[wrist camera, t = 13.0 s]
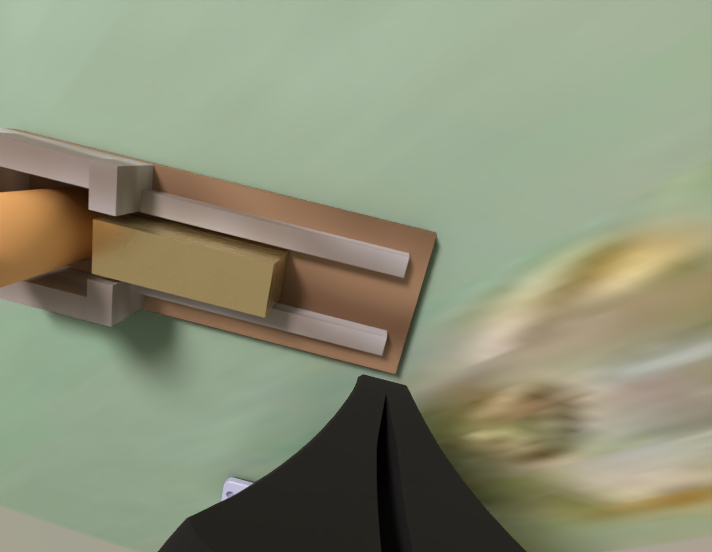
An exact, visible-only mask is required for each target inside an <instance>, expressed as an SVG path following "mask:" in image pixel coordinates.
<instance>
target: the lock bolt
mask: <svg viewBox="0 0 712 552" xmlns="http://www.w3.org/2000/svg"><path fill="white" fill-rule="evenodd" d="M288 256H289V251H287V250H283V249H279V248H275V247H271V246H267V245H263V244H259V243H255V242H251V241H247V240H243V239H239V238H235V237H231V236H227V235H223V234H219V233H215V232H211V231H207V230H203V229H199V228H195V227H191V226H187V225H183V224H179V223H175V222H171V221H167V220H163V219H159V218H155V217H151V216H147V215H143V214H139V213H135V212H133V213H129V214H124V215H119V216H113V215H110V216H106V217H101V218H96V219H93V240H92V274H96V275H100V276H104V277H107V278H111V279H115V280H119V281H123V282H127V283H131V284H135V285H139V286H143V287H147V288H150V289H154V290H158V291H162V292H166V293H170V294H174V295H178V296H182V297H186V298H189V299H193V300H197V301H201V302H205V303H209V304H213V305H217V306H221V307H225V308H229V309H232V310H236V311H240V312H244V313H248V314H252V315H256V316H260V317H264V318H265V317H266V316H267V314H268V313H269V312H270V311H271V310H272V308H273V307H274V306H275V305H276V303H277V302H278V301H279V300H280V299H281V294H282V289H283V283H284V278H285V272H286V267H287V261H288Z"/></svg>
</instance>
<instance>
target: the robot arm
mask: <svg viewBox="0 0 712 552" xmlns="http://www.w3.org/2000/svg"><path fill="white" fill-rule="evenodd" d="M231 492H233V493H231ZM158 552H526V551H525V550H524V549H523V548H522V547H521V546H520V545H519V544H518V543H517V542H516V541H515V540H514V539H513V538H512V537H511V536H510V535H509V534H508V532H507V531H506V530H505V529H504V528H503V527H502V526H501V525H500V524H499V523H498V522H497V521H496V519H495V518H494V517H493V516H492V515H491V514H490V513H489V512H488V511H487V510H486V508H485V507H484V506H483V505H482V504H481V503H480V501H479V500H478V499H477V498H476V496H475V495H474V494H473V493H472V491H471V490H470V489H469V488H468V486H467V485H466V484H465V483H464V481H463V480H462V479H461V477H460V476H459V475H458V473H457V472H456V471H455V469H454V468H453V466H452V465H451V464H450V462H449V461H448V459H447V458H446V456H445V455H444V453H443V452H442V450H441V448H440V447H439V445H438V444H437V442H436V440H435V439H434V437H433V435H432V433H431V432H430V430H429V428H428V426H427V425H426V423H425V421H424V419H423V417H422V415H421V413H420V411H419V409H418V408H417V406H416V404H415V402H414V400H413V398H412V395H411V393H410V391H409V390H408V388H407V386H406V385H402V384H398V383H394V382H391V381H387V380H383V379H379V378H375V377H371V376H367V375H361V376H359V377H358V380H357V383H356V385H355V387H354V389H353V391H352V392H351V394H350V396H349V397H348V399H347V400H346V401H345V403H344V404H343V405H342V407H341V408H340V409H339V411H338V412H337V413H336V414H335V416H334V417H333V418H332V419H331V420H330V421H329V422H328V423H327V424H326V426H325V427H324V428H323V429H322V430H321V431H320V432H319V433H318V434H317V435H316V436H315V437H314V438H313V439H312V440H311V441H310V442H309V443H307V444H306V445H305V446H304V447H303V448H302V449H301V450H299V451H298V452H297V453H296V454H295V455H293V456H292V457H291V458H289V459H288V460H287V461H286V462H284V463H283V464H282V465H280V466H279V467H278V468H276V469H275V470H273V471H272V472H270V473H269V474H268V475H266V476H264V477H263V478H261V479H259V480H258V481H256V482H255V483H252V482H248V481H245V480H241V479H237V478H228V479H227V480H226V482H225V484H224V487H223V494H222V500H221V502H219V503H217V504H215V505H213V506H211V507H209V508H207V509H205V510H203V511H201V512H199V513H197V514H195V515H193V516H190V517H188V518H187V519H186V520H185V521H184V522H183V523H182V524H181V525H180V526H179V527H178V528H177V530H176V531H175V532H174V533H173V534H172V535H171V536H170V538H169V539H168V540H167V541H166V542H165V544H164V545H163V546H162V547H161V548H160V550H159V551H158Z"/></svg>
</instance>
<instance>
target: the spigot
mask: <svg viewBox="0 0 712 552" xmlns="http://www.w3.org/2000/svg"><path fill="white" fill-rule="evenodd" d="M106 216H109V214H105V213H101V212H97V211H93V210H89V192H88V191H86V190H84V189H81V188H77V187H58V188H47V189H35V190H23V191H11V192H0V288H2V287H5V286H8V285H11V284H14V283H17V282H20V281H23V280H26V279H29V278H32V277H35V276H38V275H41V274H44V273H48V272H51V271H54V270H57V269H60V268H63V267H66V266H69V265H72V264H75V263H78V262H81V261H84V260H87V259H90V258H92V240H93V219H96V218H101V217H106Z"/></svg>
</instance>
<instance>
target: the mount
mask: <svg viewBox="0 0 712 552" xmlns="http://www.w3.org/2000/svg"><path fill="white" fill-rule="evenodd" d="M58 187H77V188H81V189H84V190H86V191H88V192H89V210H93V211H97V212H101V213H105V214H109V216H110V215H113V216H119V215H124V214H129V213H133V212H135V213H139V214H143V215H147V216H151V217H155V218H159V219H163V220H167V221H171V222H175V223H179V224H183V225H187V226H191V227H195V228H199V229H203V230H207V231H211V232H215V233H219V234H223V235H227V236H231V237H235V238H239V239H243V240H247V241H251V242H255V243H259V244H263V245H267V246H271V247H275V248H279V249H283V250H287V251H289V256H288V261H287V267H286V272H285V278H284V283H283V289H282V294H281V299H280V300H279V301H278V302H277V303H276V305H275V306H274V307H273V308H272V310H271V311H270V312H269V313H268V314H267V316H266V317H265V318H264V317H260V316H256V315H252V314H248V313H244V312H240V311H236V310H232V309H229V308H225V307H221V306H217V305H213V304H209V303H205V302H201V301H197V300H193V299H189V298H186V297H182V296H178V295H174V294H170V293H166V292H162V291H158V290H154V289H150V288H147V287H143V286H139V285H135V284H131V283H127V282H123V281H119V280H115V279H111V278H107V277H104V276H100V275H96V274H92V258H90V259H87V260H84V261H81V262H78V263H75V264H72V265H69V266H66V267H63V268H60V269H57V270H54V271H51V272H48V273H44V274H41V275H38V276H35V277H32V278H29V279H26V280H23V281H20V282H17V283H14V284H11V285H8V286H5V287H2V288H0V298H1V299H5V300H8V301H12V302H16V303H20V304H24V305H28V306H31V307H35V308H39V309H43V310H47V311H51V312H55V313H58V314H62V315H66V316H70V317H74V318H78V319H82V320H85V321H89V322H93V323H97V324H101V325H105V326H109V327H112V326H114V325H115V324H117V323H119V322H121V321H122V320H124V319H126V318H127V317H129V316H131V315H132V314H134V313H136V312H137V311H139V310H141V309H145V310H148V311H152V312H156V313H160V314H164V315H168V316H172V317H176V318H179V319H183V320H187V321H191V322H195V323H199V324H203V325H207V326H211V327H214V328H218V329H222V330H226V331H230V332H234V333H238V334H242V335H245V336H249V337H253V338H257V339H261V340H265V341H269V342H273V343H277V344H280V345H284V346H288V347H292V348H296V349H300V350H304V351H308V352H311V353H315V354H319V355H323V356H327V357H331V358H335V359H339V360H343V361H346V362H350V363H354V364H358V365H362V366H366V367H370V368H374V369H377V370H381V371H385V372H389V373H393V374H395V373H396V370H397V367H398V363H399V360H400V357H401V353H402V350H403V347H404V343H405V340H406V337H407V333H408V330H409V326H410V323H411V320H412V316H413V313H414V310H415V306H416V303H417V300H418V296H419V293H420V290H421V286H422V283H423V279H424V276H425V273H426V269H427V266H428V263H429V259H430V256H431V253H432V249H433V246H434V243H435V239H436V236H437V234H436V232H432V231H428V230H424V229H420V228H416V227H411V226H407V225H403V224H399V223H395V222H391V221H387V220H383V219H379V218H375V217H371V216H367V215H363V214H359V213H355V212H351V211H346V210H342V209H338V208H334V207H330V206H326V205H322V204H318V203H314V202H310V201H306V200H302V199H298V198H294V197H290V196H286V195H281V194H277V193H273V192H269V191H265V190H261V189H257V188H253V187H249V186H245V185H241V184H237V183H233V182H229V181H225V180H221V179H216V178H212V177H208V176H204V175H200V174H196V173H192V172H188V171H184V170H180V169H176V168H172V167H168V166H164V165H160V164H156V163H151V162H147V161H143V160H139V159H135V158H131V157H127V156H123V155H119V154H115V153H111V152H107V151H103V150H99V149H95V148H91V147H86V146H82V145H78V144H74V143H70V142H66V141H62V140H58V139H54V138H50V137H46V136H42V135H38V134H34V133H30V132H26V131H21V130H17V129H7V128H0V192H11V191H23V190H35V189H47V188H58Z"/></svg>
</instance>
